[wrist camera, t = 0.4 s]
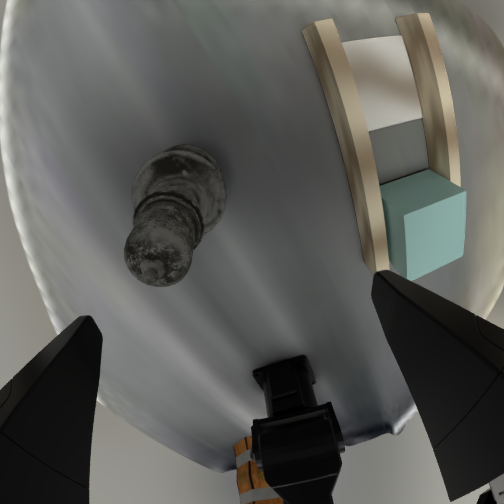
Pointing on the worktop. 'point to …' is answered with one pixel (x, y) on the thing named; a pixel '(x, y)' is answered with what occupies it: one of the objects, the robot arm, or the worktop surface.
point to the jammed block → (423, 222)
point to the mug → (252, 478)
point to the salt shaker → (172, 213)
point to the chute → (384, 109)
